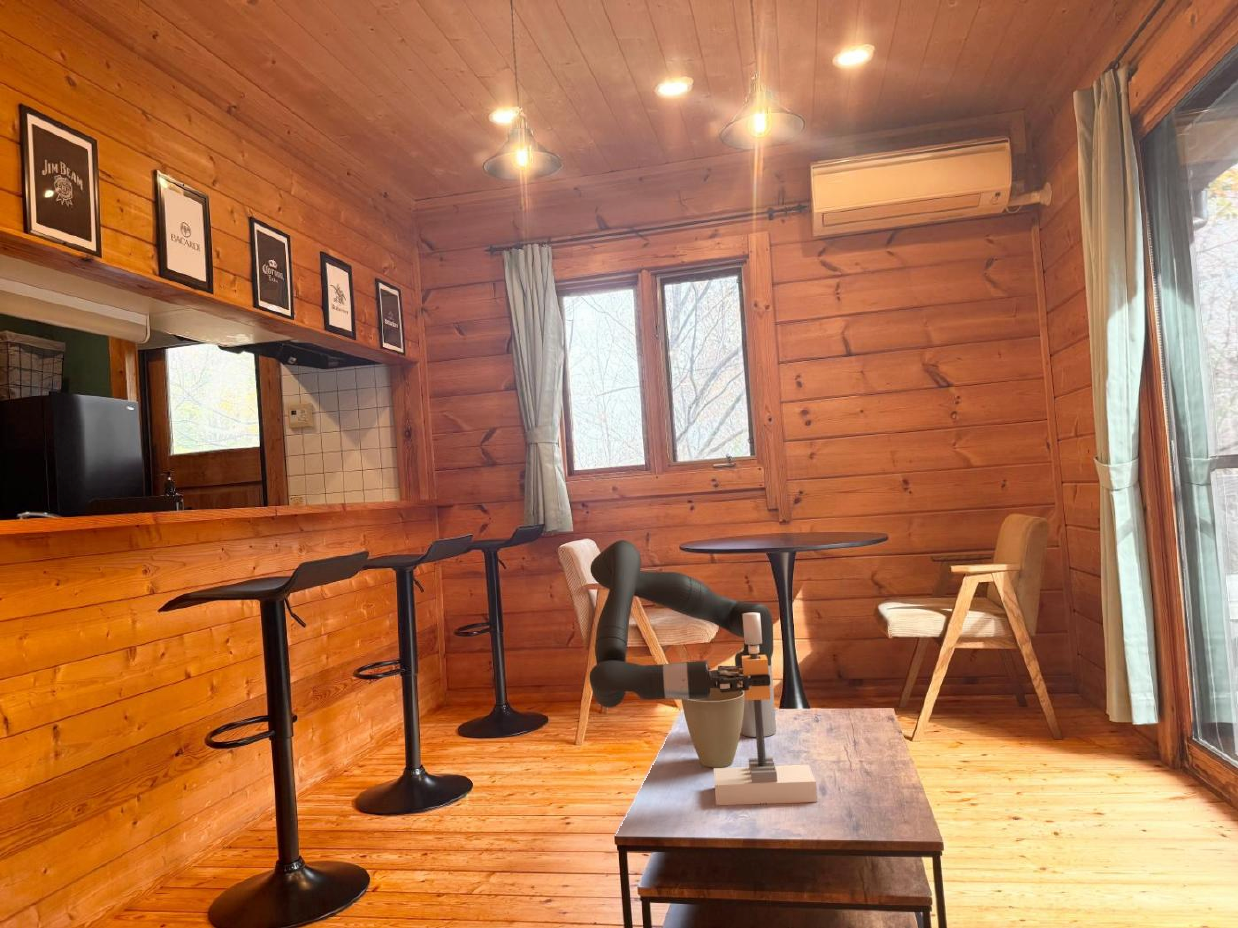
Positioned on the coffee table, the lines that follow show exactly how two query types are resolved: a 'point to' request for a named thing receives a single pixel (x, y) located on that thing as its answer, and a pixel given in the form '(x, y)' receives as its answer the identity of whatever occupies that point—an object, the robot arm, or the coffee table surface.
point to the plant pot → (715, 726)
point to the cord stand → (762, 758)
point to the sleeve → (756, 668)
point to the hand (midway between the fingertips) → (768, 676)
